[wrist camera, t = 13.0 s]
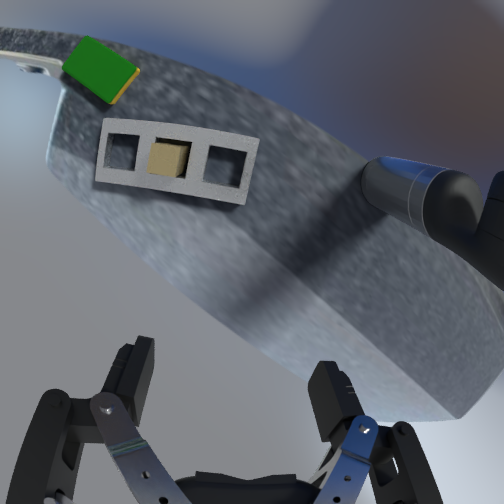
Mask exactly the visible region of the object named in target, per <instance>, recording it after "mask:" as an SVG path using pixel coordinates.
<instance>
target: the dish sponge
mask: <svg viewBox="0 0 504 504" xmlns="http://www.w3.org/2000/svg"><path fill="white" fill-rule="evenodd" d="M62 70H64V71H65V72H67V73H68V74H69V75H71V76H72V77H73V78H75V79H76V80H77V81H79V82H80V83H81V84H83V85H84V86H85V87H87V88H88V89H89V90H91V91H92V92H93V93H95V94H96V95H97V96H99V97H100V98H101V99H103V100H104V101H105V102H107V103H109V104H115V103H116V101H117V100H118V99H119V97H120V96H121V95H122V94H123V92H124V91H125V90H126V88H127V87H128V86H129V85H130V84H131V82H132V81H133V80H134V79H135V77H136V76H137V75H138V74H139V73H140V69H139V68H137V67H136V66H134V65H133V64H132V63H130V62H129V61H127V60H126V59H124V58H123V57H121V56H120V55H118V54H116V53H115V52H113V51H112V50H110V49H109V48H107V47H106V46H104V45H102V44H101V43H99V42H98V41H96V40H94V39H93V38H91V37H89V36H88V35H87V36H85V37H84V38H83V39H82V41H81V42H80V43H79V44H78V46H77V47H76V48H75V50H74V51H73V52H72V53H71V55H70V56H69V58H68V59H67V60H66V62H65V63H64V64H63V66H62Z"/></svg>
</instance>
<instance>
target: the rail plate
mask: <svg viewBox="0 0 504 504" xmlns="http://www.w3.org/2000/svg"><path fill="white" fill-rule="evenodd" d="M114 133H120V134H132V135H140V139H139V145H138V151H137V157H136V164H135V169H130V168H122V167H114V166H110V159H111V152H112V145H113V139H114ZM160 138H168V139H175V140H182V141H189V142H192V146H191V151H190V156H189V162H188V167H187V172H186V177H185V176H179V175H178V176H176V177H170V176H164V175H158V174H152V173H146V171H147V165H148V159H149V154H150V149H151V143H159V141H160ZM259 140H260V139H258V138H253V137H249V136H244V135H239V134H234V133H229V132H223V131H218V130H212V129H206V128H199V127H193V126H186V125H179V124H171V123H162V122H153V121H142V120H130V119H114V118H104V120H103V125H102V131H101V137H100V144H99V151H98V158H97V167H96V176H95V181H99V182H107V183H114V184H122V185H129V186H136V187H142V188H149V189H155V190H162V191H168V192H174V193H180V194H186V195H192V196H198V197H203V198H209V199H214V200H220V201H225V202H230V203H236V204H241V205H245V201H246V197H247V192H248V188H249V183H250V179H251V175H252V170H253V166H254V161H255V157H256V153H257V148H258V144H259ZM211 145H214V146H219V147H225V148H230V149H235V150H240V151H245V152H247V153H246V157H245V162H244V166H243V171H242V175H241V180H240V184H239V186H235V185H230V184H225V183H220V182H214V181H209V180H204V176H205V171H206V166H207V161H208V156H209V151H210V147H211Z"/></svg>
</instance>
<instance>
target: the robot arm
mask: <svg viewBox="0 0 504 504" xmlns="http://www.w3.org/2000/svg"><path fill="white" fill-rule="evenodd" d="M361 187H362V192H363V194H364V197H365V198H366V200H367V201H368V202H369V203H370V204H371V205H373V206H375V207H377V208H378V209H380V210H382V211H384V212H386V213H388V214H389V215H391V216H393V217H395V218H397V219H399V220H400V221H402V222H404V223H406V224H407V225H409V226H411V227H413V228H414V229H416V230H418V231H420V232H421V233H423V234H425V235H426V236H428V237H430V238H431V239H433V240H435V241H436V242H438V243H440V244H441V245H443V246H445V247H446V248H448V249H450V250H451V251H453V252H454V253H456V254H457V255H459V256H460V257H461V258H463V259H464V260H465V261H467V262H468V263H469V264H470V265H472V266H473V267H474V268H475V269H477V270H478V271H479V272H480V273H481V274H482V275H484V276H485V277H486V278H487V279H488V280H490V281H491V282H492V283H493V284H495V285H496V286H497V287H498V288H500V289H501V290H503V291H504V171H500V172H498V173H497V174H496V175H495V176H494V178H493V180H492V183H491V186H490V189H489V192H488V196H487V200H486V202H485V205H484V208H483V199H482V194H481V191H480V188H479V186H478V184H477V183H476V181H475V180H474V179H473V178H472V177H470V176H469V175H468V174H466V173H463V172H460V171H455V170H452V169H447V168H443V167H439V166H434V165H429V164H425V163H420V162H415V161H409V160H404V159H399V158H393V157H386V156H380V157H377V158H375V159H373V160H371V161H370V162H369V163H368V164H367V165H366V167H365V169H364V171H363V174H362V178H361ZM153 369H154V339H153V338H149V337H144V336H138V338H137V340H136V342H135V345H131V344H127V343H126V344H125V345H124V346H123V347H122V348H120V349H119V351H118V353H117V355H116V358H115V360H114V362H113V365H112V367H111V369H110V371H109V374H108V376H107V378H106V381H105V383H104V386H103V388H102V390H101V392H100V393H98V394H96V395H94V396H93V397H92V398H89V399H76V398H70V397H69V396H68V394H67V393H66V392H64V391H62V390H59V389H51V390H48V391H46V392H45V393H44V394H43V395H42V397H41V399H40V401H39V404H38V406H37V408H36V411H35V413H34V415H33V418H32V421H31V423H30V425H29V428H28V431H27V433H26V436H25V439H24V441H23V444H22V447H21V450H20V453H19V456H18V459H17V462H16V465H15V469H14V472H13V476H12V479H11V483H10V487H9V491H8V496H7V500H6V504H75V503H74V502H73V501H72V500H73V494H74V488H75V483H76V478H77V473H78V469H79V464H80V460H81V455H82V451H83V447H84V443H105V445H106V447H107V449H108V451H109V453H110V455H111V457H112V459H113V461H114V463H115V465H116V466H117V468H118V470H119V472H120V474H121V476H122V477H123V479H124V481H125V482H126V484H127V486H128V487H129V489H130V491H131V492H132V494H133V495H134V497H135V498H136V500H137V501H138V503H139V504H355V502H356V499H357V497H358V495H359V493H360V491H361V488H362V486H363V484H364V481H365V479H366V476H367V474H368V473H369V477H370V480H371V484H372V488H373V492H374V495H375V500H376V503H377V504H443V501H442V499H441V495H440V492H439V490H438V487H437V484H436V482H435V479H434V477H433V474H432V471H431V469H430V466H429V464H428V461H427V459H426V456H425V454H424V451H423V449H422V447H421V444H420V442H419V440H418V437H417V435H416V433H415V430H414V429H413V427H412V426H411V425H410V424H409V423H407V422H404V421H399V422H397V423H395V424H394V425H393V427H387V426H380V425H378V424H377V422H376V421H375V420H374V419H373V418H371V417H369V416H366V415H365V414H364V411H363V409H362V407H361V404H360V402H359V400H358V397H357V395H356V393H355V390H354V388H353V387H352V383H351V381H350V379H349V377H348V376H347V375H346V374H345V373H344V372H343V371H339V369H338V366H337V364H336V362H335V361H319V363H318V364H317V366H316V368H315V370H314V372H313V374H312V376H311V378H310V380H309V383H308V392H309V397H310V400H311V404H312V407H313V411H314V414H315V418H316V422H317V425H318V429H319V433H320V437H321V440H322V442H331V446H330V447H329V449H328V451H327V452H326V454H325V456H324V458H323V460H322V461H321V463H320V465H319V467H318V468H317V470H316V472H315V473H314V475H313V476H312V477H311V478H310V479H309V481H308V482H305V481H301V480H297V479H296V474H286V475H271V476H267V477H263V478H258V479H253V480H243V479H239V478H236V477H232V476H228V475H224V474H218V473H208V472H199V471H196V474H195V476H191V477H185V478H181V479H178V480H176V481H174V480H173V479H172V478H171V476H170V475H169V474H168V472H167V471H166V470H165V468H164V467H163V465H162V464H161V462H160V461H159V459H158V458H157V456H156V455H155V453H154V452H153V450H152V449H151V447H150V446H149V444H148V443H147V442H146V440H143V439H142V437H141V436H140V434H139V432H138V430H137V429H136V427H135V426H137V427H139V424H140V420H141V415H142V411H143V407H144V404H145V400H146V396H147V392H148V388H149V385H150V381H151V377H152V374H153ZM393 457H394V458H395V461H396V464H397V467H398V473H397V470H396V467H395V464H394V461H393V459H392V458H393Z"/></svg>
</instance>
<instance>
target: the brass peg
mask: <svg viewBox="0 0 504 504" xmlns="http://www.w3.org/2000/svg"><path fill="white" fill-rule="evenodd" d="M188 151H189V146H183V145H177V144H171V143H151V149H150V154H149V159H148V165H147V171H146V173H152V174H158V175H164V176H170V177H176V176H178V175H180V174H181V173H183V172H184V170H185V165H186V160H187V156H188Z"/></svg>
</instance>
